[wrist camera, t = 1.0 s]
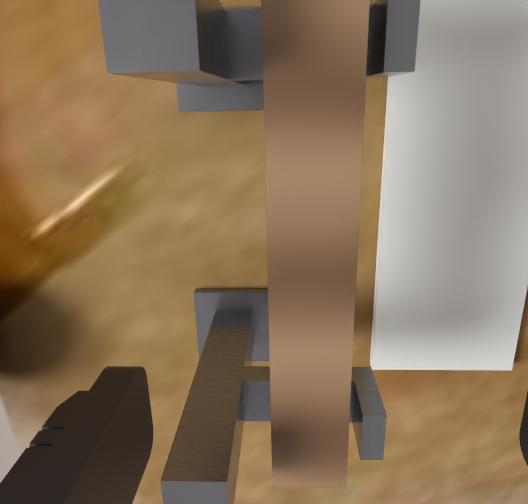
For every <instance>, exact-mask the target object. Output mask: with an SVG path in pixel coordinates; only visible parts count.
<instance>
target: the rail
mask: <svg viewBox="0 0 528 504" xmlns="http://www.w3.org/2000/svg"><path fill="white" fill-rule="evenodd" d="M369 4H370V0H262V42H263V86H264V131H265V175H266V219H267V264H268V308H269V353H270V397H271V442H272V486H273V487H313V488H346V479H347V459H348V438H349V417H350V397H351V376H352V355H353V335H354V314H355V293H356V273H357V252H358V231H359V211H360V190H361V170H362V149H363V128H364V108H365V87H366V66H367V46H368V25H369Z"/></svg>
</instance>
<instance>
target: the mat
mask: <svg viewBox="0 0 528 504" xmlns="http://www.w3.org/2000/svg"><path fill="white" fill-rule="evenodd" d="M527 287H528V0H421V1H420V13H419V25H418V38H417V50H416V62H415V72H410V73H405V74H400V75H395V76H390V77H388V87H387V103H386V118H385V134H384V150H383V165H382V181H381V197H380V212H379V228H378V244H377V259H376V275H375V291H374V306H373V322H372V338H371V354H370V365H371V368H372V370H512V367H513V362H514V356H515V351H516V346H517V340H518V335H519V330H520V324H521V319H522V314H523V308H524V303H525V298H526V292H527Z"/></svg>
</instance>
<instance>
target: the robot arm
mask: <svg viewBox="0 0 528 504" xmlns="http://www.w3.org/2000/svg"><path fill="white" fill-rule="evenodd" d="M152 443H153V422H152V414H151V406H150V399H149V391H148V383H147V376H146V371H145V369H144V368H143V367H113V366H108V367H106V368H105V369H104V370H103V371H102V373H101V374H100V375H99V377H98V378H97V380H96V381H95V383H94V384H93V386H92V387H91V389H90V390H89V391H78V392H77V393H75V394H74V395H73V396H71V397H70V398H69V399H67V400H66V401H65V402H63V403H62V404H60V405H59V406H58V407H57V408H56V409H55V410H54V412H53V413H52V414H51V416H50V417H49V418H48V420H47V421H46V422H45V424H44V425H43V427H42V431H39V432H38V433H37V435H36V436H35V437H34V439H33V440H32V441H31V443H30V447H29V448H26V449H25V451H24V452H23V453H22V455H21V456H20V458H19V459H18V461H17V462H16V463H15V464H14V466H13V467H12V468H11V470H10V471H9V472H8V474H7V475H6V476H5V478H4V479H3V480H2V482H1V483H0V504H132V502H133V500H134V497H135V494H136V492H137V489H138V486H139V484H140V481H141V479H142V476H143V473H144V471H145V468H146V465H147V463H148V460H149V457H150V454H151V449H152ZM520 446H521V451H522V454H523V457H524V459H525V461H526V463H527V465H528V392H527V397H526V402H525V407H524V413H523V418H522V423H521V428H520Z"/></svg>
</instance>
